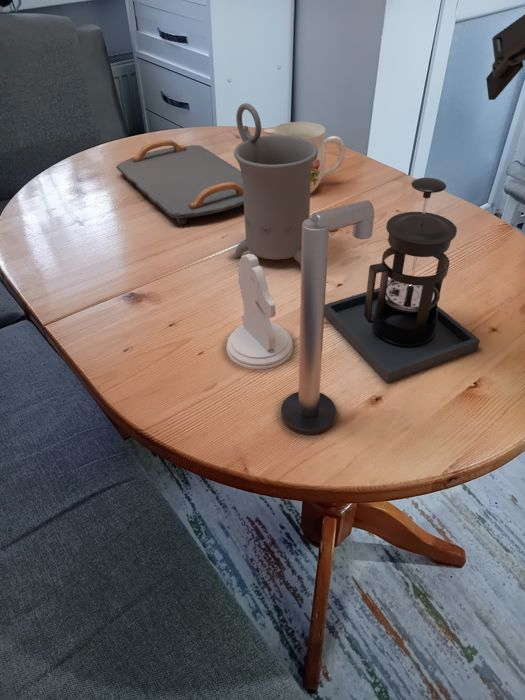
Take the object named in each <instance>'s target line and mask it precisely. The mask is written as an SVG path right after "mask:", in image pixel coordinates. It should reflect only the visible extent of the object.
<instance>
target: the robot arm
mask: <svg viewBox="0 0 525 700" xmlns="http://www.w3.org/2000/svg"><path fill="white" fill-rule="evenodd" d="M491 41H492V49H493V50H492V51H493V57H494V62H492V65H491V68H492V70H491V71H490V73H489V74H488V75H487V76H486V77H485V80H486V90H487V98H488V101H494V100H495V101H496V99H497V98H499V96H500V95H501V93H502V92H503V91H504V90H505V89H506V88H507V86H508V85H510V84H509V83H511V82H512V80H513V79H514V78H515V77H516V76H517V75H518V73H519V72H520V71H521V70H522V69H523V68H524V62H525V13H524V14H523V15H522V16H520V17H519V18H517V19H516V20H514V21H513V22H512V23H510V24H509V25H508V26H506V27H504V28H503V29H502V30H501V31H499V32H498V33H496V34H495V35H494V36H493V37H492V39H491Z"/></svg>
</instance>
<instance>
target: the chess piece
mask: <svg viewBox="0 0 525 700" xmlns="http://www.w3.org/2000/svg"><path fill="white" fill-rule="evenodd" d="M259 263H260V261H259V258H258V256H256V255H254V254H253V253H247V254H244V255H243V254H242V255H241V256H240V259H239V261H238V269H237V272H238V274H237V276H238V284H239V289H240V294H241V298H242V304H243V315H242V316H241V320H242V325H240V326H238V327H237V328H235V330H233V331H232V333H231V334H230V335H229V337H228V338H227V342H226V353H227V355H228V358H229V359H230V360H231V361H232V362H233V363H234V364H236V365H237V366H240V367H241V368H245V369H249V370H256V371H257V370H259V371H260V370H268V369H272V368H276V367H278V366H280V365H282V364H284V363H285V362H287V360H288V359H289V358H290V357H291V355H292V354H293V351H294V342H293V339H292V335H290V333H289V332H288V331H287V330H286V329H285V328H284V327H282V326H281V325H279V324H277V323H275V322H273V321H272V322H271V320H270V319H272V318H274V317H275V316H276V304H275V302H274V300H273V298H272V296H271V294H270V291H269V286H268V283H267V278H266V275H265V272H264V270H263V268H262V266H261V265H260V264H259Z"/></svg>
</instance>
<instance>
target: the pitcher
mask: <svg viewBox="0 0 525 700" xmlns="http://www.w3.org/2000/svg"><path fill="white" fill-rule="evenodd" d="M262 131H263V133H265V134H267V135H268V136H269V135H288V136H296V137H300V138H304V139H307V140H309V141H311V142H313V143H314V144H315V145H316V146H317V148H318V154H317V156H316V158H315V159H314V161H313V165H312V170H311V180H310V194H312V193H313V192H315V190H316V189H317V188H318V186H319V185H320V183H321V180H322V179H324V178H327V177H329V176H331V175H333V174H334V173H336V172H337V171H338V170H339V169H340V167H342V165H343V163H344V159H345V153H346V148H345V144H344V141H343V140H342V139H341V138H340V137H339V136H337V135H331V136H328V137H326V138H325V135H326V128H325V126H323V125H322V124H319V123H316V122H311V121H290V122H284V123H280V124H278V125H275V126H270V127H269V126H268V127H265V128H263V130H262ZM324 138H325V139H324ZM332 143H335V144H337V146H338V158H337V160H336V161H335V163H334V164H333V165H332V166H330V167H329V168H327V169H325V168H326V159H327V157H326V156H327V155H326V148H327V146H328V145H330V144H332Z"/></svg>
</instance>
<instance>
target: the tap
mask: <svg viewBox="0 0 525 700" xmlns="http://www.w3.org/2000/svg"><path fill="white" fill-rule="evenodd" d="M374 220H375V208H374V205H373V203H372V202H371V201H370V200H368V199H365V200H361V201H357V202H353V203H349V204H345V205H341V206H337V207H336V206H335V207H333V208H328V209H324V210H319V211H316V212H313V213H311V217H309V219H306V220H304V221H303V223H302V257H301V266H300V304H299V305H300V310H299V320H300V321H299V359H298V360H299V361H298V391H296V392H293V393H292V394H289V395H288V396H287V397H286V398H284V401H283V402H282V404H281V407H280V416H281V421H282V423H283V425H284V426H285V427H286V428H287V429H289V430H290V431H291V432H294V433H295V434H298V435H303V436H316V435H321V434H324V433H326V432H327V431H329V430H330V429H331V428H332V427H333V425H334V424H335V421H336V417H337V408H336V405H335V403H334V401H333V400H332V399H331V398H330V397H329V396H328V395H326V394H324V393H322V392H321V379H322V377H321V376H322V362H323V361H322V360H323V343H324V327H325V326H324V323H325V317H324V309H325V304H326V291H327V271H328V255H329V238H330V237H329V236H330V232H331V231H334V230H339V229H342V228H346V227H350V226H352V231H351V235H352V237H353V238H355V239H356V240H368V239H371V238H372V236H373V230H374V222H375V221H374Z"/></svg>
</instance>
